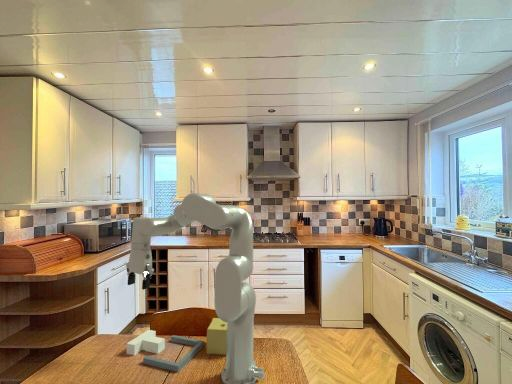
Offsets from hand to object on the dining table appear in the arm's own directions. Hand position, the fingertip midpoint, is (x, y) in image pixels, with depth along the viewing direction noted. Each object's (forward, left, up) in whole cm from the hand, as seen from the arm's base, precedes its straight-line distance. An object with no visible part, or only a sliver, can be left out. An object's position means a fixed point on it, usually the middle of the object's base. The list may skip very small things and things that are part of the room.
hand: (138, 286), depth 106 cm
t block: (-6, -1, -25) cm, 26 cm away
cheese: (-34, -11, -25) cm, 44 cm away
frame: (-18, -1, -25) cm, 31 cm away
